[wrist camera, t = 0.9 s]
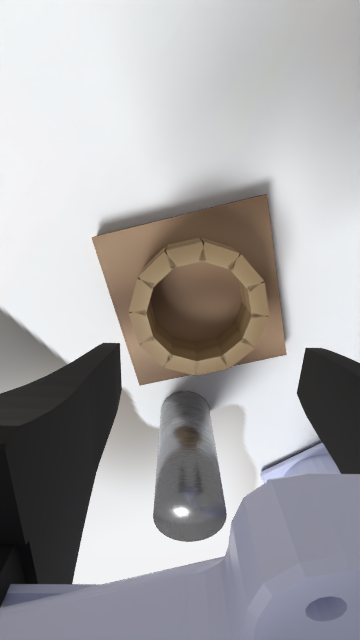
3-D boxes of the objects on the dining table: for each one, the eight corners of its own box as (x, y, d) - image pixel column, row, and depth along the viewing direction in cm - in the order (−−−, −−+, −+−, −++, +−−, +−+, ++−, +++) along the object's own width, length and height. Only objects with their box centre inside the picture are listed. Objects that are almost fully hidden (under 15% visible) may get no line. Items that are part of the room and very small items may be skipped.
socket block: (280, 347, 23) (301, 374, 19) (141, 377, 24) (134, 408, 20) (261, 195, 19) (282, 192, 15) (96, 235, 20) (77, 242, 16)
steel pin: (218, 417, 25) (239, 523, 17) (178, 439, 26) (179, 550, 17) (192, 383, 24) (201, 478, 16) (151, 406, 25) (138, 509, 16)
